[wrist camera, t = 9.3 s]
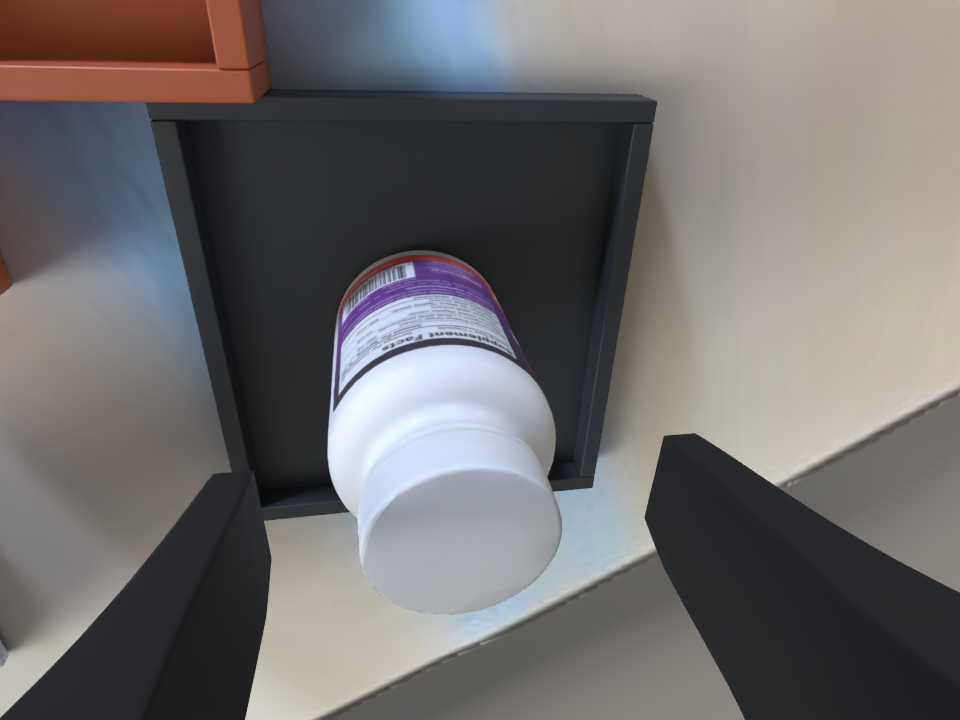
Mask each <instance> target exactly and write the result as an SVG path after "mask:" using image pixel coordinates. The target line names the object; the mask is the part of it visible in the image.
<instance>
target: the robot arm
mask: <svg viewBox="0 0 960 720" xmlns="http://www.w3.org/2000/svg"><path fill="white" fill-rule="evenodd" d="M645 520H646V523H647V526H648V528H649V531H650V534H651V536H652V539H653V542H654V544H655V547H656V549H657V552H658V554H659V557H660V559H661V561H662V564H663V566H664V569H665V571H666V572H667V574H668V576H669V578H670V580H671V582H672V584H673V586H674V587H675V589H676V591H677V593H678V595H679V597H680V599H681V600H682V602H683V604H684V606H685V608H686V610H687V611H688V613H689V615H690V617H691V619H692V620H693V622H694V624H695V626H696V628H697V629H698V631H699V633H700V635H701V637H702V639H703V640H704V642H705V644H706V645H707V647H708V649H709V651H710V652H711V655H712V657H713V658H714V660H715V662H716V664H717V666H718V667H719V669H720V671H721V673H722V675H723V677H724V678H725V680H726V682H727V684H728V686H729V688H730V690H731V692H732V694H733V696H734V698H735V700H736V702H737V703H738V705H739V708H740V710H741V712H742V714H743V716H744V719H745V720H960V593H959V592H957V591H955V590H953V589H951V588H949V587H947V586H945V585H943V584H941V583H939V582H938V581H936V580H934V579H932V578H930V577H928V576H926V575H924V574H922V573H920V572H918V571H916V570H915V569H913V568H911V567H909V566H906V565H905V564H903V563H901V562H899V561H897V560H896V559H894V558H892V557H890V556H888V555H887V554H885V553H883V552H881V551H879V550H878V549H876V548H874V547H872V546H871V545H869V544H867V543H866V542H864V541H862V540H861V539H859V538H857V537H855V536H854V535H852V534H850V533H849V532H847V531H846V530H844V529H842V528H840V527H839V526H837V525H836V524H834V523H832V522H830V521H829V520H827V519H826V518H824V517H823V516H821V515H819V514H818V513H816V512H815V511H813V510H811V509H810V508H808V507H807V506H805V505H804V504H802V503H800V502H799V501H798V500H796V499H794V498H793V497H791V496H790V495H788V494H787V493H785V492H784V491H782V490H781V489H779V488H778V487H776V486H775V485H773V484H772V483H770V482H769V481H767V480H766V479H764V478H763V477H761V476H760V475H758V474H757V473H755V472H754V471H752V470H751V469H749V468H748V467H746V466H745V465H743V464H742V463H740V462H739V461H737V460H736V459H735V458H733V457H732V456H730V455H728V454H727V453H725V452H724V451H722V450H721V449H719V448H718V447H716V446H715V445H713V444H712V443H710V442H708V441H707V440H705V439H704V438H702V437H700V436H699V435H697V434H695V433H692V434H681V435H669V436H664V438H663V442H662V446H661V451H660V455H659V459H658V463H657V467H656V472H655V476H654V480H653V484H652V488H651V493H650V497H649V501H648V505H647V509H646V513H645ZM270 569H271V554H270V549H269V544H268V539H267V534H266V529H265V524H264V520H263V515H262V510H261V505H260V500H259V495H258V490H257V485H256V480H255V476H254V471H242V472H230V473H218V474H214V475H213V476H212V477H211V478H210V479H209V480H208V481H207V482H206V484H205V485H204V486H203V488H202V489H201V490H200V492H199V493H198V494H197V496H196V497H195V498H194V500H193V501H192V502H191V504H190V505H189V506H188V508H187V509H186V510H185V512H184V513H183V514H182V516H181V517H180V518H179V520H178V521H177V522H176V524H175V525H174V526H173V527H172V529H171V530H170V531H169V533H168V534H167V535H166V536H165V538H164V539H163V540H162V542H161V543H160V544H159V545H158V547H157V548H156V549H155V550H154V552H153V553H152V554H151V555H150V556H149V558H148V559H147V560H146V561H145V563H144V564H143V565H142V566H141V567H140V569H139V570H138V571H137V572H136V574H135V575H134V576H133V577H132V579H131V580H130V581H129V582H128V583H127V585H126V586H125V587H124V588H123V589H122V590H121V592H120V593H119V594H118V595H117V596H116V597H115V598H114V599H113V601H112V602H111V603H110V604H109V605H108V606H107V607H106V608H105V610H104V611H103V612H102V613H101V614H100V615H99V616H98V617H97V619H96V620H95V621H94V622H93V623H92V624H91V625H90V626H89V628H88V629H87V630H86V631H85V632H84V633H83V634H82V635H81V637H80V638H79V639H78V640H77V641H76V642H75V643H74V644H73V645H72V646H71V647H70V648H69V649H68V650H67V651H66V653H65V654H64V655H63V656H62V657H61V658H60V659H59V660H58V661H57V662H56V663H55V664H54V665H53V666H52V667H51V668H50V669H49V670H48V671H47V672H46V673H45V674H44V675H43V676H42V677H41V678H40V679H39V680H38V681H37V682H36V683H35V684H34V685H33V686H32V687H31V688H30V689H29V690H28V691H27V692H26V693H25V694H24V695H23V696H22V697H21V698H20V699H19V700H18V701H17V702H16V703H15V704H14V705H13V706H12V707H11V708H10V709H9V710H8V711H7V712H6V713H5V714H4V715H3V716H2V717H1V718H0V720H245V717H246V712H247V707H248V703H249V698H250V693H251V688H252V684H253V679H254V674H255V669H256V665H257V660H258V655H259V650H260V645H261V640H262V635H263V630H264V625H265V620H266V613H267V603H268V592H269V581H270ZM8 656H9V655H8V652H7V650H6V649H5V647H4V645H3V644H2V642H1V640H0V667H1V666H3V665H4V663H5V661H6V659H7V658H8Z"/></svg>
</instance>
